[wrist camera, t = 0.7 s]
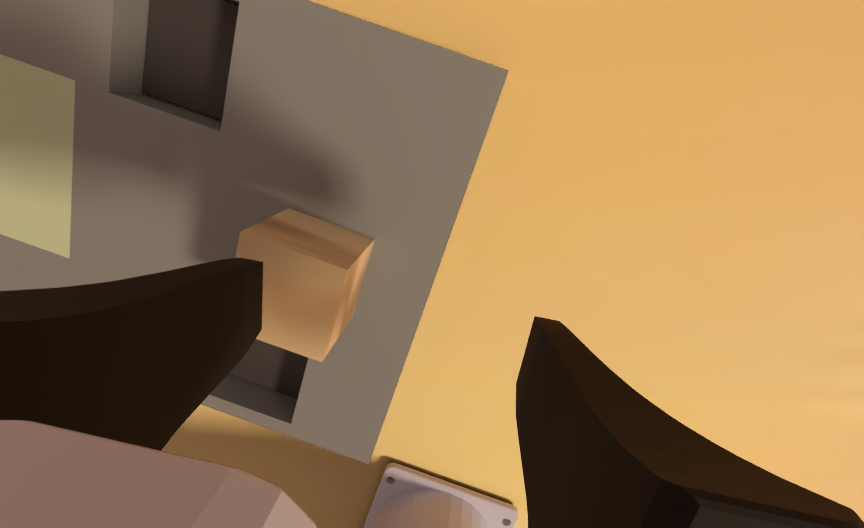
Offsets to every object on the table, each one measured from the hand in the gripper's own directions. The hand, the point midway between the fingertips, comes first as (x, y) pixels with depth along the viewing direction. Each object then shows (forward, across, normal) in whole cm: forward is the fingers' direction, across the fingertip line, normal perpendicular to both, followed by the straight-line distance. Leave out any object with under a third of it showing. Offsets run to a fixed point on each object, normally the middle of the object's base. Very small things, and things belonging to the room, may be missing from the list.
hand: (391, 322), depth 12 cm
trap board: (+10, +11, +2) cm, 15 cm away
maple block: (+8, +5, +2) cm, 9 cm away
